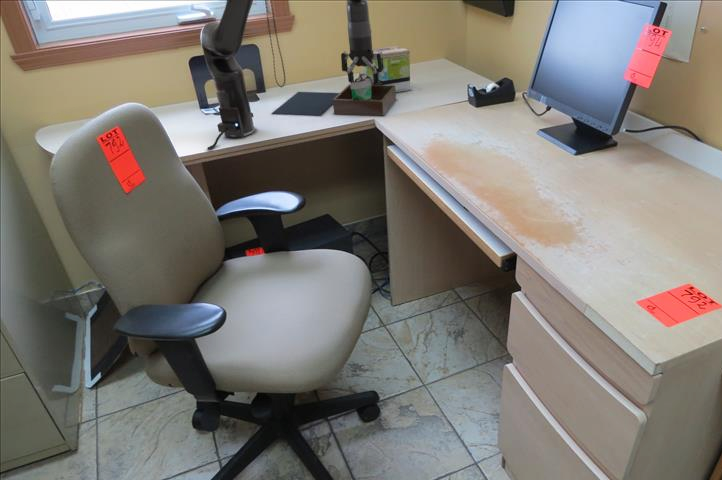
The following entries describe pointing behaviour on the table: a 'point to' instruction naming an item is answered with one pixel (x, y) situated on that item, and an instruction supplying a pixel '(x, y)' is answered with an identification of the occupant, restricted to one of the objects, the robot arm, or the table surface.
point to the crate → (365, 101)
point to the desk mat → (307, 104)
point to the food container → (362, 87)
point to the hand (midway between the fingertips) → (364, 83)
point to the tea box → (393, 68)
